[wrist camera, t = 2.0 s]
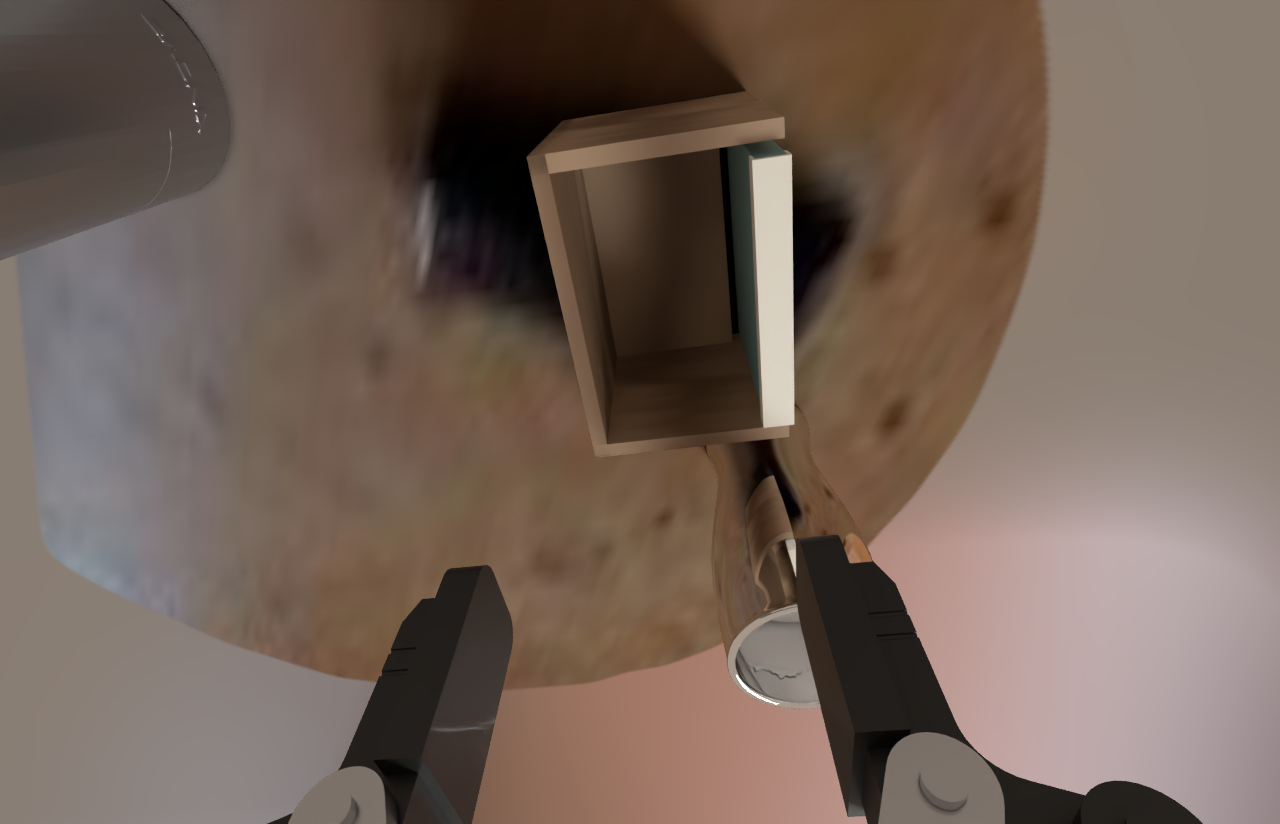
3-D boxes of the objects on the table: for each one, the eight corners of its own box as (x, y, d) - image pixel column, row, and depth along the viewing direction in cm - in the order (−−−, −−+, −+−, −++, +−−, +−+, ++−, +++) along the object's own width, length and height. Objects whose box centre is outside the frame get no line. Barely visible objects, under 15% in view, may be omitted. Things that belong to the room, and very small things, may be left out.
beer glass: (745, 364, 33) (802, 573, 20) (840, 422, 35) (947, 644, 22) (674, 451, 36) (686, 676, 24) (765, 499, 38) (821, 731, 26)
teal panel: (736, 329, 32) (763, 427, 24) (722, 121, 26) (751, 160, 18) (759, 327, 31) (794, 424, 24) (750, 117, 26) (791, 154, 18)
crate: (609, 359, 33) (595, 457, 25) (562, 120, 27) (526, 156, 19) (757, 341, 32) (789, 436, 25) (745, 91, 26) (784, 116, 18)
